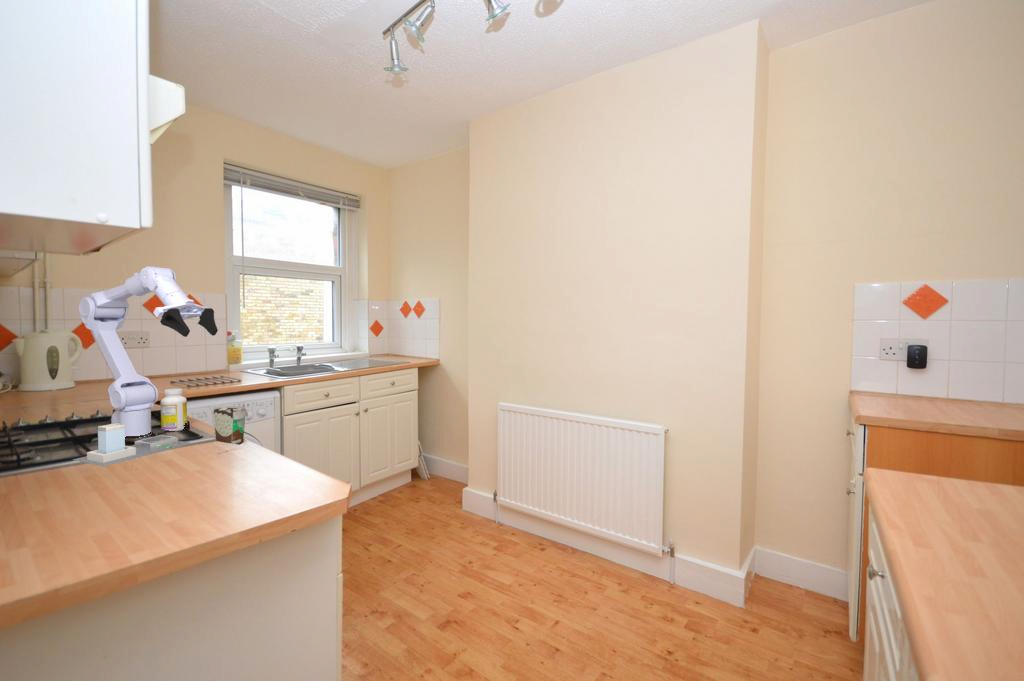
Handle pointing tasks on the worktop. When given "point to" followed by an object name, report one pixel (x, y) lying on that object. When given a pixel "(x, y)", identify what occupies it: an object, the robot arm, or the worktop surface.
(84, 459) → the panel
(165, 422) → the supplement bottle
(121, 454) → the frame
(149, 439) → the port
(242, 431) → the food container
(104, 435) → the plug
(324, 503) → the worktop surface
